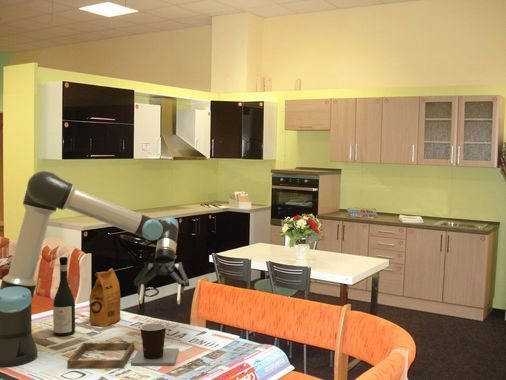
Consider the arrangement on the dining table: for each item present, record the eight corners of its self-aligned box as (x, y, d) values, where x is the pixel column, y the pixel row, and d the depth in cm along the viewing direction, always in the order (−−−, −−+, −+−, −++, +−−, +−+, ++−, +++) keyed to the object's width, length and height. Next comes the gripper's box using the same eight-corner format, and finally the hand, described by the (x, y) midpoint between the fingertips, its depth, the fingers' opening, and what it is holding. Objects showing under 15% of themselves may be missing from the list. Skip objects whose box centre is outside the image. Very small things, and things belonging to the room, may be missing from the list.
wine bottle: (70, 336, 206) (69, 259, 205) (50, 336, 207) (49, 258, 205) (78, 330, 214) (77, 255, 213) (58, 330, 215) (57, 255, 213)
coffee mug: (160, 361, 177) (160, 331, 177) (136, 359, 179) (135, 329, 179) (173, 350, 189) (172, 321, 188) (150, 348, 191) (149, 320, 190)
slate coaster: (131, 365, 176) (130, 362, 176) (139, 351, 190) (139, 348, 190) (173, 365, 177) (173, 362, 177) (178, 351, 191) (178, 348, 191)
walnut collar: (67, 368, 174) (67, 360, 174) (83, 349, 192) (83, 342, 192) (123, 368, 174) (123, 360, 174) (134, 349, 192) (134, 342, 192)
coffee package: (85, 325, 222) (84, 272, 221) (105, 317, 234) (104, 267, 233) (104, 328, 218) (104, 274, 217) (123, 320, 229) (123, 268, 229)
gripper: (198, 259, 211) (194, 307, 197) (134, 258, 210) (126, 306, 196) (197, 247, 205) (193, 296, 191) (131, 247, 205) (122, 296, 191)
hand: (159, 302), depth 194 cm, fingers open, 13 cm apart
